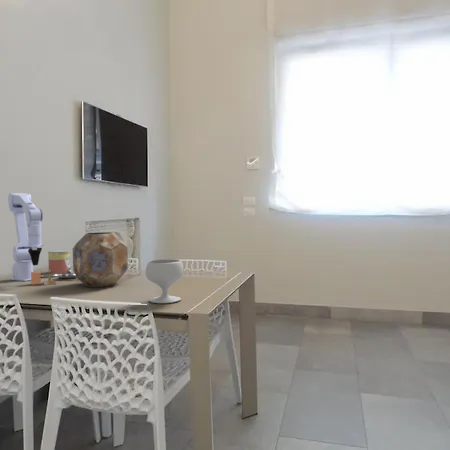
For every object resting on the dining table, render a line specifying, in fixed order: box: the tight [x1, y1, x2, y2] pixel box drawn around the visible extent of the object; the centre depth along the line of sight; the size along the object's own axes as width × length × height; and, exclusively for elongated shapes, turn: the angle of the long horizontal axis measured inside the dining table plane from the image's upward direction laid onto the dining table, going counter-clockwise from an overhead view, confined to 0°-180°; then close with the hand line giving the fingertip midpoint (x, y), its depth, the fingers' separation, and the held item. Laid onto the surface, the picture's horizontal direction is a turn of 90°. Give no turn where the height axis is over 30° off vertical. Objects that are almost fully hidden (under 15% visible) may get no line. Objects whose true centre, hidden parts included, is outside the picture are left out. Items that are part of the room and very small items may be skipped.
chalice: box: [145, 258, 184, 304], centre depth 162 cm, size 14×14×15 cm
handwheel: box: [57, 266, 76, 279], centre depth 217 cm, size 10×10×4 cm
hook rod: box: [30, 271, 62, 285], centre depth 204 cm, size 13×4×6 cm, turn 112°
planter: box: [72, 231, 129, 288], centre depth 198 cm, size 22×24×24 cm
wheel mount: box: [51, 277, 78, 282], centre depth 217 cm, size 11×11×1 cm
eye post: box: [43, 268, 56, 286], centre depth 204 cm, size 5×10×6 cm, turn 22°
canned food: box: [47, 249, 71, 275], centre depth 240 cm, size 11×11×12 cm
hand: (35, 264), depth 202 cm, fingers open, 7 cm apart
